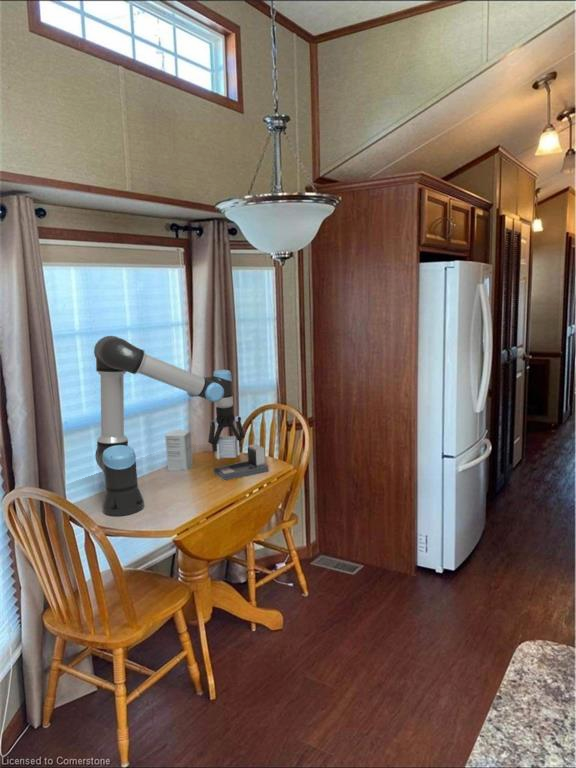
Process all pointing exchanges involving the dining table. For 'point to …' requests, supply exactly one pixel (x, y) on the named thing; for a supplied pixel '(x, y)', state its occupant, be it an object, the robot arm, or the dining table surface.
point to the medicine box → (227, 447)
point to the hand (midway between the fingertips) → (227, 456)
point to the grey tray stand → (244, 465)
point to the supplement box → (179, 450)
